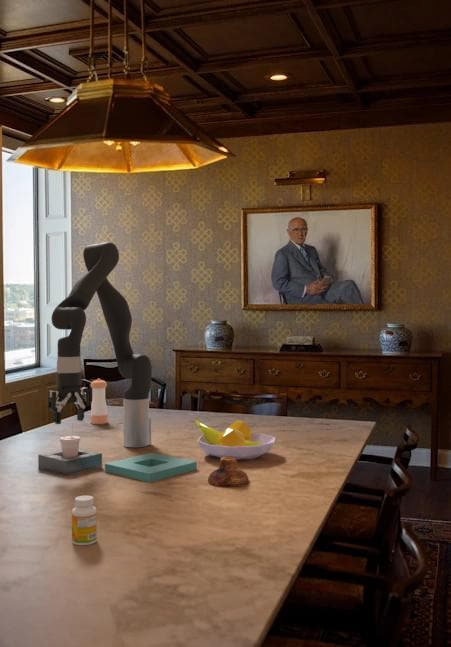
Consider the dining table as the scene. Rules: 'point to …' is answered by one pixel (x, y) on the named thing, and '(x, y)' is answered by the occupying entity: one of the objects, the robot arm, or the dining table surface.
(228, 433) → the fruit bowl
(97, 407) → the pepper shaker
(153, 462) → the low socket
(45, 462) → the tall socket
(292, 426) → the dining table surface
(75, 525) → the supplement bottle
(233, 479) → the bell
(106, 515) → the dining table surface
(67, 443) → the smoothie
